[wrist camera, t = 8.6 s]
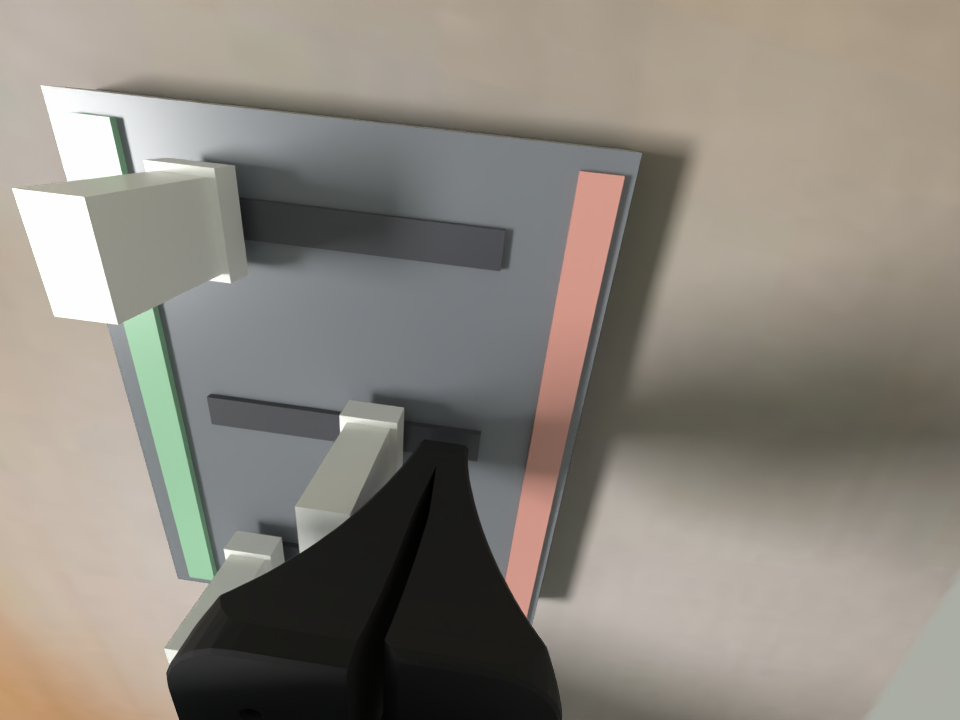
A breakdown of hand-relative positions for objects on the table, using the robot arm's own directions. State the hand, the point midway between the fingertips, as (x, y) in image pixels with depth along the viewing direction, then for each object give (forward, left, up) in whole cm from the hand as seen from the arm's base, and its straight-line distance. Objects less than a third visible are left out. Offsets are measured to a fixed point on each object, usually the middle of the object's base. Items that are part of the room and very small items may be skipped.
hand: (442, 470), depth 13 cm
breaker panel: (0, +3, -3) cm, 4 cm away
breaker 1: (+6, +6, -1) cm, 9 cm away
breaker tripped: (0, +2, -1) cm, 2 cm away
